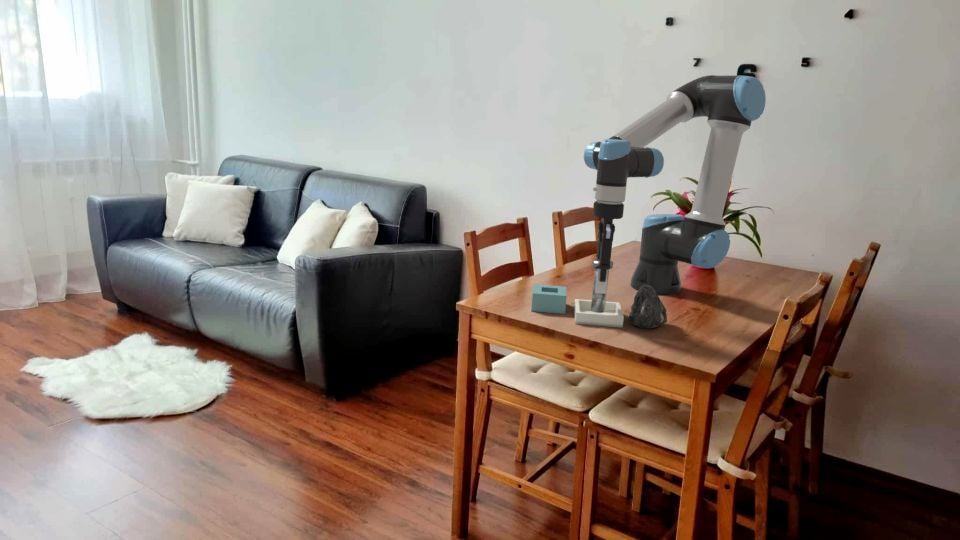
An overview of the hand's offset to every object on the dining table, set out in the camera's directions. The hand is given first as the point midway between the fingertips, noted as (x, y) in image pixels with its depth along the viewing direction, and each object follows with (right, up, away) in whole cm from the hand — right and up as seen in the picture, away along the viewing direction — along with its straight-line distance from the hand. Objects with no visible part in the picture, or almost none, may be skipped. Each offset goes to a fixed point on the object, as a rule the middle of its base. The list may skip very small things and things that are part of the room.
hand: (600, 289), depth 176 cm
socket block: (-13, -5, +9) cm, 16 cm away
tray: (0, -8, +2) cm, 8 cm away
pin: (0, -6, +1) cm, 6 cm away
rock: (+12, -10, -2) cm, 16 cm away
